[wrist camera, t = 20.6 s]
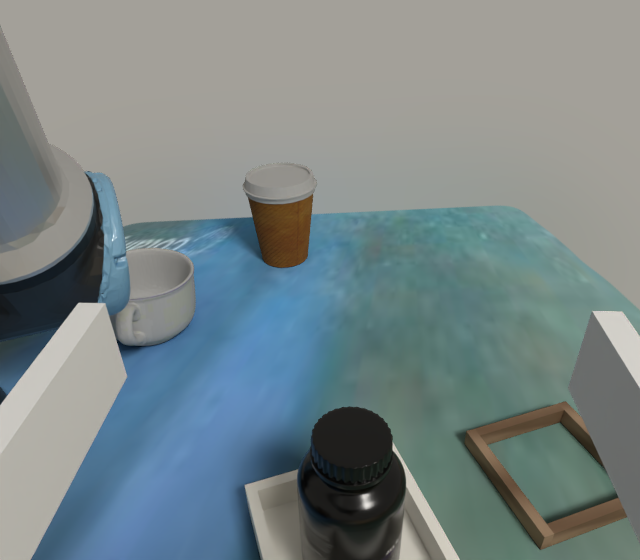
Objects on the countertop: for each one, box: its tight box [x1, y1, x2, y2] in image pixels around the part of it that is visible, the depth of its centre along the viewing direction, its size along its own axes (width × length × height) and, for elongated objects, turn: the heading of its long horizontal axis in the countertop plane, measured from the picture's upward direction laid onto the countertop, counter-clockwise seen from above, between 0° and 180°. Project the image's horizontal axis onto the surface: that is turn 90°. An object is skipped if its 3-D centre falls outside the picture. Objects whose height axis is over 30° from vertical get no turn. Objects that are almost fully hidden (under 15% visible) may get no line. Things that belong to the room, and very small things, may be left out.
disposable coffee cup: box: [243, 163, 317, 267], centre depth 71 cm, size 10×10×12 cm
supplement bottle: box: [297, 407, 406, 560], centre depth 34 cm, size 7×7×12 cm
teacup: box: [109, 248, 195, 346], centre depth 58 cm, size 14×11×8 cm
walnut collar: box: [464, 402, 627, 550], centre depth 43 cm, size 10×10×2 cm
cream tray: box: [245, 443, 460, 560], centre depth 37 cm, size 12×12×3 cm
